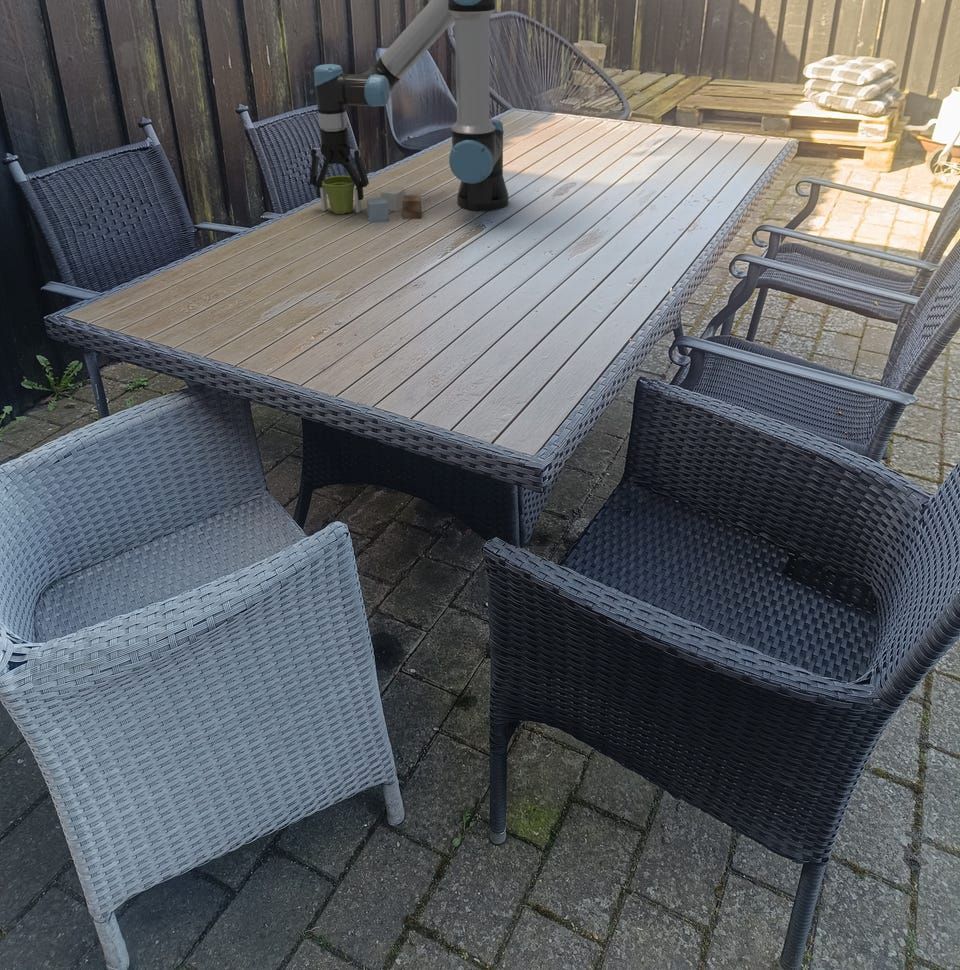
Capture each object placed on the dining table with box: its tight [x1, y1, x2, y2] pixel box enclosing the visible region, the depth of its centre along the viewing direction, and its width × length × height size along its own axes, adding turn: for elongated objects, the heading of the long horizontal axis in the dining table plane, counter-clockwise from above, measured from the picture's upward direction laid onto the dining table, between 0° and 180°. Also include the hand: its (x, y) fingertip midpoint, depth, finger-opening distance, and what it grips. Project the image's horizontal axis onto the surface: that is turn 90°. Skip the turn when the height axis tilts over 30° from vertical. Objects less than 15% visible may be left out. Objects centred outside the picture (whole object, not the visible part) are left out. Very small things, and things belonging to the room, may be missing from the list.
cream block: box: [380, 187, 406, 212], centre depth 243 cm, size 5×5×5 cm
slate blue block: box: [365, 197, 389, 223], centre depth 236 cm, size 5×5×5 cm
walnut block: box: [402, 194, 423, 220], centre depth 238 cm, size 5×5×5 cm
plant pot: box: [322, 175, 356, 215], centre depth 240 cm, size 9×9×9 cm
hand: (341, 210), depth 242 cm, fingers open, 9 cm apart
